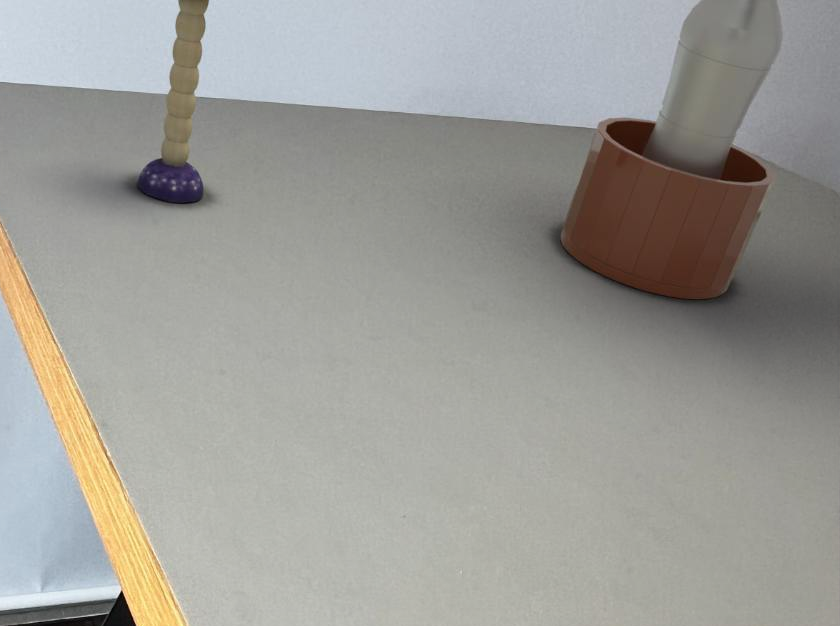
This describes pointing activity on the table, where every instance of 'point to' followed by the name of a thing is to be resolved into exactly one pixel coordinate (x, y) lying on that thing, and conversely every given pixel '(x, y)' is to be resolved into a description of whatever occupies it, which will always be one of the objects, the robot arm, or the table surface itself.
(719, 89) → the plastic bottle
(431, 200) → the table surface
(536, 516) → the table surface
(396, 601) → the table surface
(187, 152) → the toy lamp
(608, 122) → the crock
